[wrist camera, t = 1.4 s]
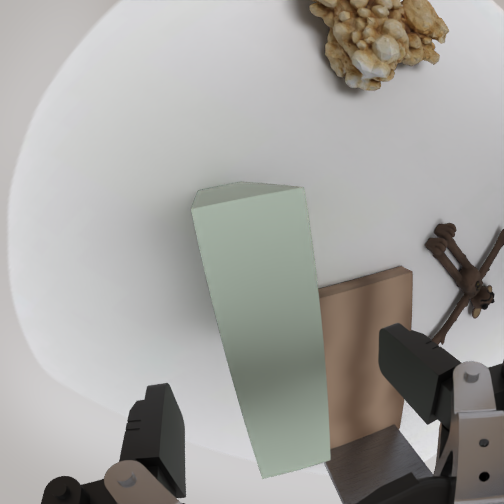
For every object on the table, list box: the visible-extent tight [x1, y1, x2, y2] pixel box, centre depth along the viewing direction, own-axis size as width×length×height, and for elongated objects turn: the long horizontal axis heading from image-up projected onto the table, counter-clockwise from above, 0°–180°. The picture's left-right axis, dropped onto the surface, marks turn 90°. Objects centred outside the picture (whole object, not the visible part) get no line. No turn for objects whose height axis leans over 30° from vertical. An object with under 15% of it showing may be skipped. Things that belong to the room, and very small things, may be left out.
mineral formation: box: [309, 0, 449, 91], centre depth 19 cm, size 8×13×15 cm
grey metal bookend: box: [324, 424, 433, 504], centre depth 25 cm, size 10×1×14 cm, turn 101°
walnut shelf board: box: [318, 266, 413, 449], centre depth 30 cm, size 12×22×2 cm, turn 11°
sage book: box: [191, 182, 331, 479], centre depth 19 cm, size 4×13×16 cm, turn 11°
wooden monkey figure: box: [425, 223, 504, 345], centre depth 30 cm, size 18×4×14 cm
